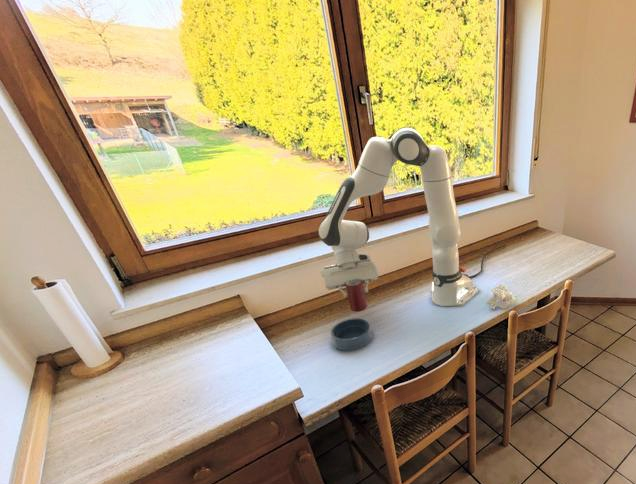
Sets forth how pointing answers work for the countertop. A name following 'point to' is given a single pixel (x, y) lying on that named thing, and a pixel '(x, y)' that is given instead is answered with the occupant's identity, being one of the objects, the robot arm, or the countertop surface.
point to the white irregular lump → (501, 298)
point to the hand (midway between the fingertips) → (356, 294)
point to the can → (356, 295)
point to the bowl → (351, 334)
